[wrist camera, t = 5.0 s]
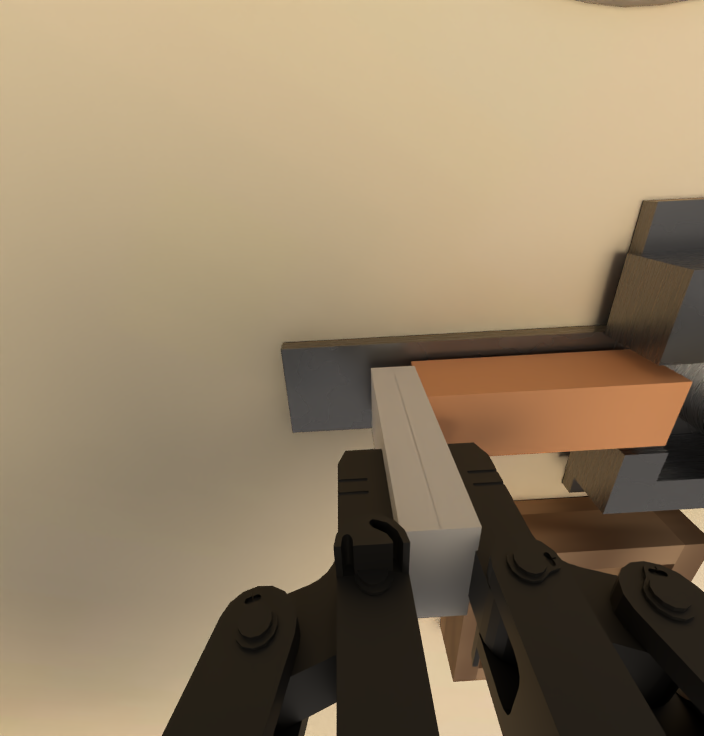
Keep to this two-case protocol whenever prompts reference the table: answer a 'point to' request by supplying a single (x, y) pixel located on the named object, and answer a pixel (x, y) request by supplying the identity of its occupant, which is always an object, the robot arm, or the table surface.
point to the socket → (623, 331)
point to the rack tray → (588, 554)
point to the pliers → (630, 2)
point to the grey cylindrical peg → (692, 394)
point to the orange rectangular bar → (554, 401)
